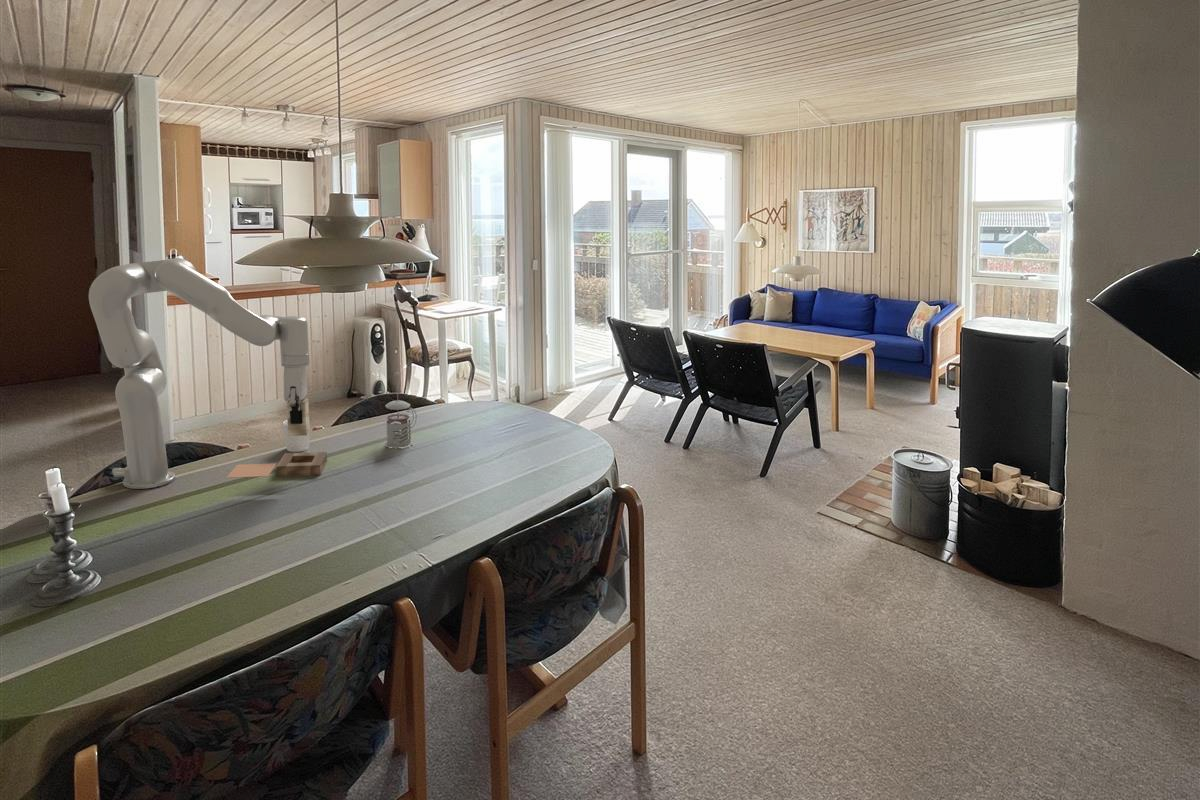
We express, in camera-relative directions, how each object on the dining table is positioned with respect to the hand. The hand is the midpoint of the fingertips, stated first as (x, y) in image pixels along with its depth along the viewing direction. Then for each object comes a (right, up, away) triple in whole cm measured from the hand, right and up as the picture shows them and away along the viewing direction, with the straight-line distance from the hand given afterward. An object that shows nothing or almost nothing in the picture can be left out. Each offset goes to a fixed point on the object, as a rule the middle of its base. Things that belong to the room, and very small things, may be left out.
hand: (298, 420), depth 212 cm
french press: (+21, -9, +33) cm, 40 cm away
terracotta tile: (-14, -16, +1) cm, 21 cm away
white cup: (-9, -11, +22) cm, 26 cm away
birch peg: (0, -4, +1) cm, 4 cm away
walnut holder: (0, -15, +4) cm, 16 cm away
